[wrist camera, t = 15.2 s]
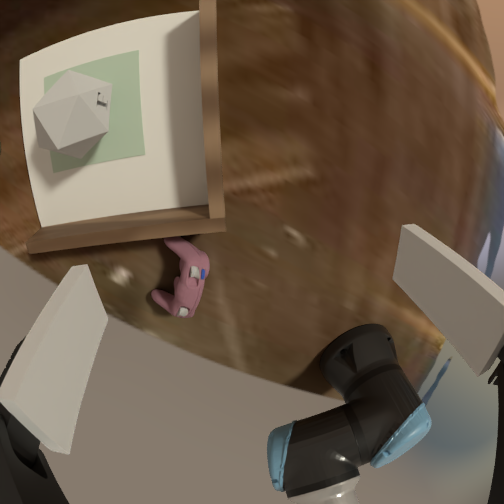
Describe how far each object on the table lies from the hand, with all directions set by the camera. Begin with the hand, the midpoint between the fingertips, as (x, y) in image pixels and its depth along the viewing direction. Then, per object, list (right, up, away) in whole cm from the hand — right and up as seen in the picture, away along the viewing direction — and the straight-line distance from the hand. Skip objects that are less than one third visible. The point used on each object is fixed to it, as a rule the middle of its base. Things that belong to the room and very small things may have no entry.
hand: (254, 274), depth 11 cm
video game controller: (-9, -1, +25) cm, 27 cm away
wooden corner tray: (-16, +15, +15) cm, 26 cm away
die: (-18, +16, +13) cm, 27 cm away
